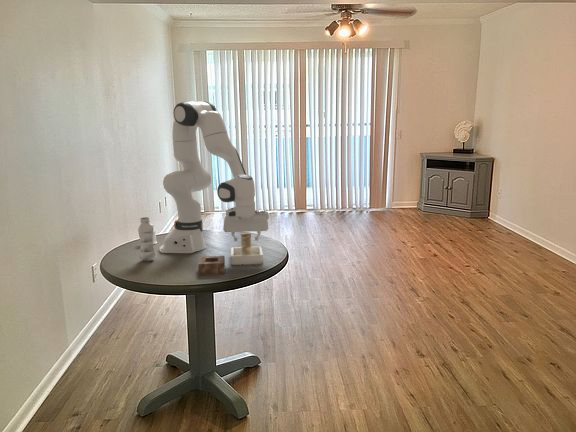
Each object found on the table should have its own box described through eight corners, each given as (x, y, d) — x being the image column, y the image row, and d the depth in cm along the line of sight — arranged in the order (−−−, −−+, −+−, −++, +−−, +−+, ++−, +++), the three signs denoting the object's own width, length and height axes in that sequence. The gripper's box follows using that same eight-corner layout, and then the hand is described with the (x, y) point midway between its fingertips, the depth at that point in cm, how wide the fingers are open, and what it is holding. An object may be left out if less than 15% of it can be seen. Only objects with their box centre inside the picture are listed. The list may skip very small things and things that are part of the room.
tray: (231, 264, 211) (231, 256, 210) (231, 255, 224) (231, 247, 223) (262, 263, 212) (262, 255, 211) (261, 254, 226) (261, 246, 225)
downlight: (160, 243, 245) (158, 224, 243) (147, 246, 241) (145, 226, 239) (153, 241, 251) (151, 222, 249) (140, 243, 247) (138, 224, 245)
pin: (241, 259, 215) (241, 235, 213) (241, 256, 220) (241, 233, 217) (251, 258, 216) (251, 235, 213) (251, 255, 220) (250, 232, 218)
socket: (199, 275, 197) (198, 264, 196) (200, 267, 208) (200, 256, 206) (224, 274, 198) (223, 263, 197) (224, 266, 209) (224, 255, 207)
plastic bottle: (141, 258, 220) (138, 216, 216) (156, 258, 221) (153, 216, 216) (138, 263, 214) (135, 220, 210) (154, 262, 215) (150, 219, 210)
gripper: (268, 208, 217) (268, 238, 220) (223, 210, 215) (224, 239, 218) (269, 211, 211) (269, 241, 214) (222, 213, 209) (223, 243, 212)
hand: (246, 240), depth 216 cm, fingers open, 8 cm apart
